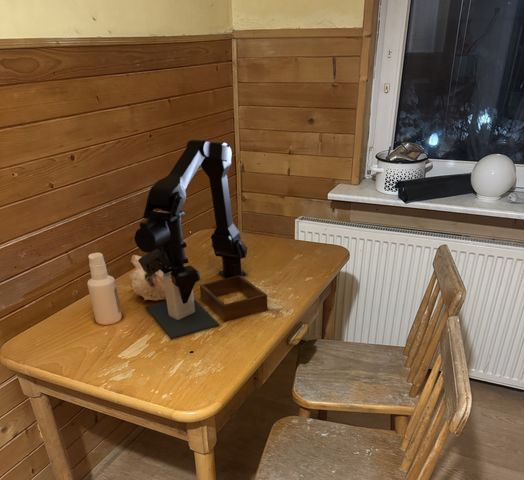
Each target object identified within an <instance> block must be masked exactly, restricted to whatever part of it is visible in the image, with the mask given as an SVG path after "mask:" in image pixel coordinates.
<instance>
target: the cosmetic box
mask: <svg viewBox="0 0 524 480" xmlns="http://www.w3.org/2000/svg"><path fill="white" fill-rule="evenodd" d="M171 272H172V271H171ZM171 272H169V273H166V274H163V280H164V287H165V293H166V299H165V301H167V307H168V314H169V316H171V317H172V318H174V319H177V320H179V319H182V318H184V317H186V316H188V315H190V314H192V313H194V312H195V306H194V300H195V298H194V288H193V289H192V292H191V294H190V297H189V299H188V302H187V303H185V304H183V302H182V299H181V296H180V293H179V289H178V287H177V286H175V285H174V284H173V283H172V282H171V281H172V279H171V275H170V273H171Z"/></svg>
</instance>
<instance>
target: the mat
mask: <svg viewBox="0 0 524 480" xmlns="http://www.w3.org/2000/svg"><path fill="white" fill-rule="evenodd" d="M194 306H195V312H194V313H192V314H190V315H188V316H186V317H184V318H182V319H179V320H177V319H174V318H172V317H171V316H169V314H168V307H167V300H165V301H161V302H156V303H153V304H150V305H146V306H145V309H146V310H147V311H148V313H149V314H150V315H151V316H152V318H153V319H154V320H155V321H156V322H157V324H158V325H159V327H161V328H162V330H163V331H164V333H165V334H166V335H167V336H168V338H169V339H170V340H174V339H177V338H178V339H179V338H181V337H184V336H185V337H186V336H188V335H192V334H196V333H199V332H203V331H206V330H209V329H213V328H216V327H220V323H218V321H217V320H216V319H215V318H214V317H213V316H212V315H210V313H209V312H207V311H206V309H204V307H202V306H201V305H200V304H199V302H197V301H196V299H194Z"/></svg>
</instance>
